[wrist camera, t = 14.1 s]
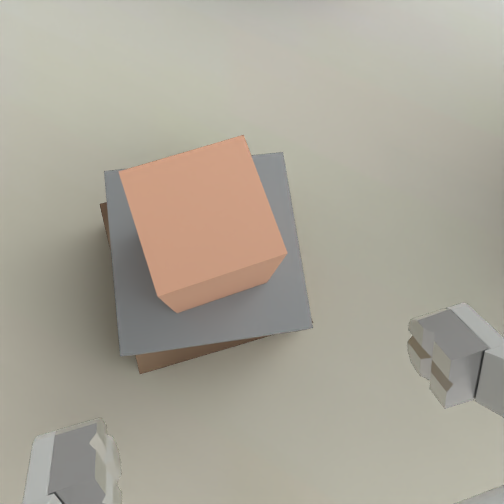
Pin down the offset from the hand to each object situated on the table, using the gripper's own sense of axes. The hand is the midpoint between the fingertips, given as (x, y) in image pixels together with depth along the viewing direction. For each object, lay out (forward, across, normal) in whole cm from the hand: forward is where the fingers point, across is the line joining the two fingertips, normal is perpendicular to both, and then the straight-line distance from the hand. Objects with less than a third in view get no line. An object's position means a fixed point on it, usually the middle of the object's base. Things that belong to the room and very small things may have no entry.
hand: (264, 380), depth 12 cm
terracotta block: (+13, 0, +4) cm, 13 cm away
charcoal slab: (+16, 0, +7) cm, 18 cm away
